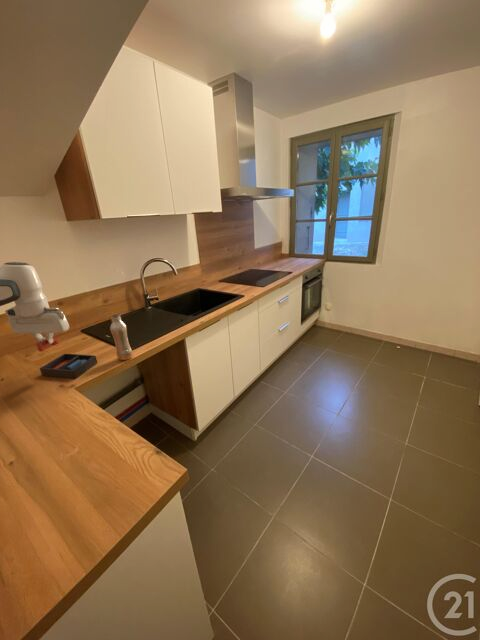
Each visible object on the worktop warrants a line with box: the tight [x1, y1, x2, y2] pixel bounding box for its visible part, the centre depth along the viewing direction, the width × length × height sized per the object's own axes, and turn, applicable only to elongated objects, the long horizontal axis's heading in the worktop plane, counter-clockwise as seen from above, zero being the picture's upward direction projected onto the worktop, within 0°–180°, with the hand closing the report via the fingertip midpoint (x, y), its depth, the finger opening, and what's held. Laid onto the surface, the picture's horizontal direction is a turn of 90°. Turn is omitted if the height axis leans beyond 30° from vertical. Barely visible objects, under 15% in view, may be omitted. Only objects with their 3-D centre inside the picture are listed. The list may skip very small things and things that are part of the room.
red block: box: [35, 337, 61, 352], centre depth 98 cm, size 8×4×3 cm, turn 174°
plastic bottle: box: [109, 313, 133, 361], centre depth 112 cm, size 6×7×20 cm
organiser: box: [39, 353, 98, 380], centre depth 108 cm, size 16×12×4 cm
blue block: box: [67, 359, 87, 370], centre depth 107 cm, size 8×4×3 cm, turn 167°
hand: (46, 342), depth 98 cm, fingers closed on red block
